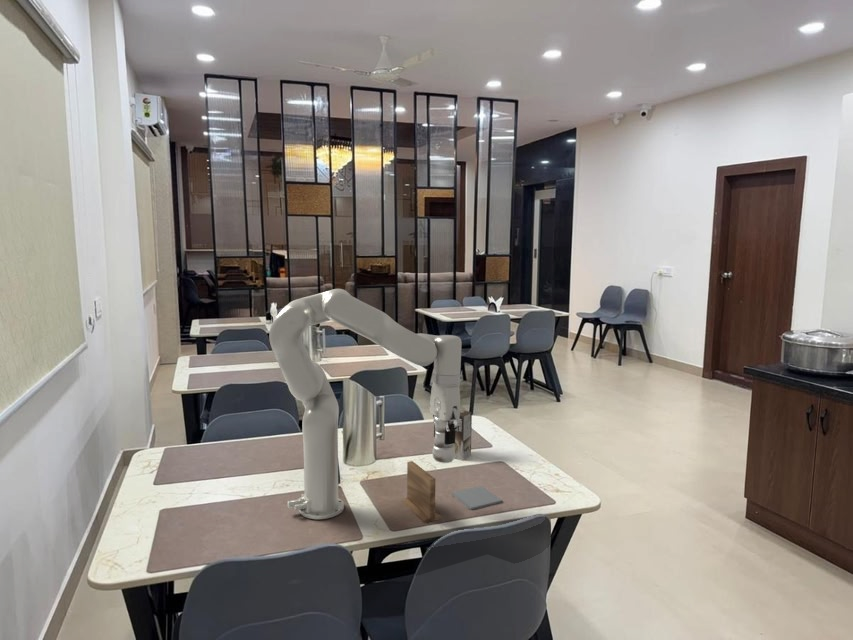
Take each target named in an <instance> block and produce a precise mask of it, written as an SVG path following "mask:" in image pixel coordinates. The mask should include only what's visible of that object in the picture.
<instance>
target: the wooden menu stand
mask: <svg viewBox="0 0 853 640" xmlns="http://www.w3.org/2000/svg"><path fill="white" fill-rule="evenodd" d="M406 465H407V467H406V468H407V469H406V470H407V471H406V473H407V474H406V475H407V476H406V477H407V478H406V483H407V484H406V487H407V488H406V497H405V498H401V503H403V504H404V506H405V507H407V509H409V510H410V511H411V512H412V513H413V514H414V515H415V516H416V515H417V516H416V517H417V518H418V519H420V520H421V521H422V522H423V523H425V522H426V523H430V522H433V521H436V520H437V521H438V520H441V516H440V515H439V514H438V513H437V512H436V477H434V476H433V475H431V474H430V473H429V472H427V471H426V470H425V469H423V468H422V466H420V465H418V464H417V463H416V462H414V461H412V460H410V461H407V463H406Z"/></svg>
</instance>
